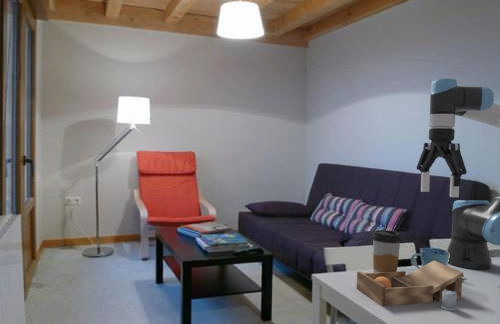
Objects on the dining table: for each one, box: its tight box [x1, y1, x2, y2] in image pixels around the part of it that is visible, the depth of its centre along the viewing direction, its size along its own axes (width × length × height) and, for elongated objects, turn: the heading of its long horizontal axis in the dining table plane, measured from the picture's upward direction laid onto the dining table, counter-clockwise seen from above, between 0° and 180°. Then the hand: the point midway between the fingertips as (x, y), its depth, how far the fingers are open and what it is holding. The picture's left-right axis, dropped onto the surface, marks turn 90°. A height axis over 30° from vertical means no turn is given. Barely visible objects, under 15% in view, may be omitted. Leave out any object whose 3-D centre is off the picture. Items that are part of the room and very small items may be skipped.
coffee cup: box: [372, 229, 402, 273], centre depth 133 cm, size 8×8×15 cm
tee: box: [440, 290, 458, 312], centre depth 113 cm, size 4×4×4 cm
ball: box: [375, 277, 392, 288], centre depth 120 cm, size 5×5×5 cm
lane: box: [356, 260, 465, 307], centre depth 122 cm, size 26×13×8 cm, turn 104°
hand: (438, 194), depth 140 cm, fingers open, 13 cm apart
